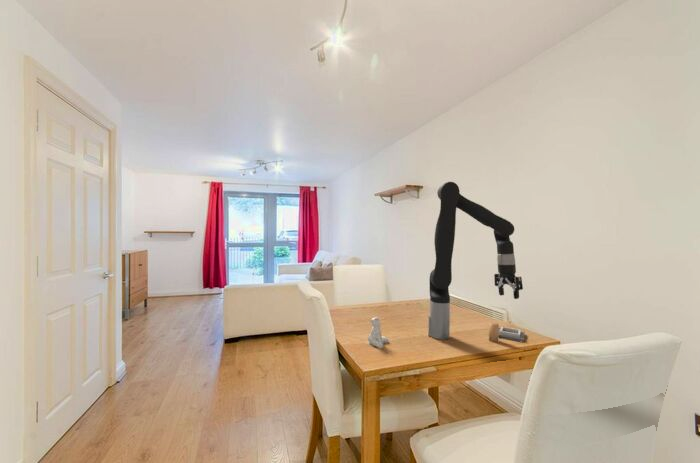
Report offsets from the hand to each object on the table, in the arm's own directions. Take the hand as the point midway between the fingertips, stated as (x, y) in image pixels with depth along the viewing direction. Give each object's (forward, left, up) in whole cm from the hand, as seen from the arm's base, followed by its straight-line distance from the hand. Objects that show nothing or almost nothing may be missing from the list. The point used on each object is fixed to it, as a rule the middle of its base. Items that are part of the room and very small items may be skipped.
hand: (508, 296), depth 140 cm
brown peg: (-6, -5, -21) cm, 22 cm away
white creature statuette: (-50, -40, -21) cm, 67 cm away
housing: (0, +7, -21) cm, 22 cm away
